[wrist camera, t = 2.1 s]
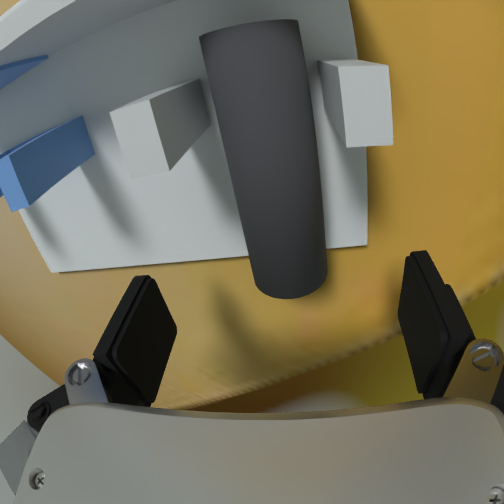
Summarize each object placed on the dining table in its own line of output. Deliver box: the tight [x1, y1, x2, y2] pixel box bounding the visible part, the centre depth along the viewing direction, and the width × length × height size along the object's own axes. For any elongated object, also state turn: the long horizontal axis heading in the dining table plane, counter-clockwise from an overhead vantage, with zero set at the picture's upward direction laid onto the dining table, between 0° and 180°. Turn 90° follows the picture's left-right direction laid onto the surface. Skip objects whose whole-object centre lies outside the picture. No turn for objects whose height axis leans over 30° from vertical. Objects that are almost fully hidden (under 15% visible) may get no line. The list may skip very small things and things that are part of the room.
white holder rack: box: [0, 0, 393, 273], centre depth 10 cm, size 16×19×6 cm
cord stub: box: [199, 19, 327, 299], centre depth 11 cm, size 10×3×3 cm, turn 10°
